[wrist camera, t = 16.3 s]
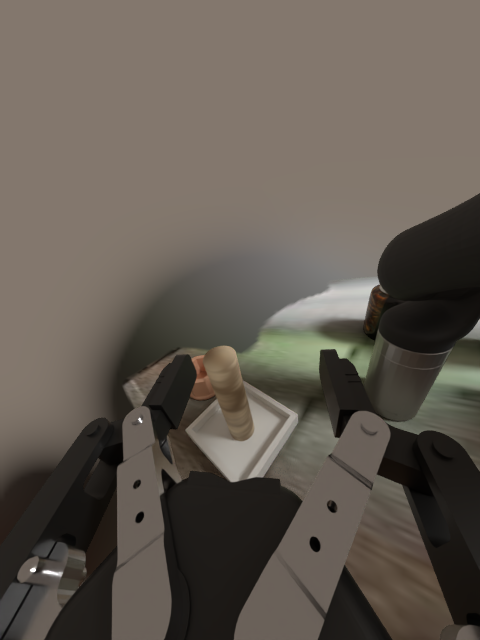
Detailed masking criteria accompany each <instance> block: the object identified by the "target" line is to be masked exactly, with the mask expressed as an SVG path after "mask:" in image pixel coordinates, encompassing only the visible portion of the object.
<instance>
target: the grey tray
mask: <svg viewBox="0 0 480 640" xmlns="http://www.w3.org/2000/svg"><path fill="white" fill-rule="evenodd" d="M243 383H244V387H245V391H246V395H247V399H248V403H249V407H250V411H251V415H252V419H253V423H254V432H253V435H252V436H251V437H250V438H249V439H248V440H245V441H237V440H235V439H234V438H233V437H232V436H231V433H230V431H229V428H228V426H227V423H226V421H225V418H224V416H223V413H222V410H221V408H220V405H219V403H218V400H217V399H216V400H215V401H214V402H213V403H212V404H211V405H210V406H209V407H208V408H207V409H206V410H205V411H204V412H203V413H202V414H201V415H200V416H199V417H198V418H197V419H196V420H195V421H194V422H193V423H192V424H191V425H190V426H189V427H188V428H187V429H186V430H185V431H186V432H187V434H188V436H189V437H190V438H191V440H192V441H193V442H194V443H195V444H196V445H197V446H198V448H199V449H200V450H201V451H202V452H203V453H204V454H205V456H206V457H207V458H208V459H209V460H210V461H211V462H212V463H213V465H214V466H215V467H216V468H217V469H218V470H219V471H220V473H221V474H222V475H223V476H224V477H225V478H226V479H227V480H228V481H230V482H236V481H241V480H245V479H249V478H254V477H262V478H263V476H264V475H265V473H266V472H267V470H268V469H269V467H270V465H271V464H272V462H273V461H274V459H275V458H276V456H277V455H278V453H279V451H280V450H281V448H282V447H283V445H284V444H285V442H286V440H287V439H288V437H289V436H290V434H291V433H292V431H293V430H294V428H295V426H296V425H297V423H298V414H296V413H295V412H293V411H292V410H290V409H288V408H287V407H285V406H284V405H282V404H280V403H279V402H277V401H276V400H274V399H272V398H271V397H269V396H268V395H266V394H264V393H263V392H261V391H260V390H258V389H256V388H255V387H253V386H252V385H250V384H248V383H247V382H245V381H244V380H243Z"/></svg>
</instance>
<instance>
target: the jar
mask: <svg viewBox="0 0 480 640" xmlns="http://www.w3.org/2000/svg"><path fill="white" fill-rule="evenodd" d="M405 302H407V301H402V300H399V299H395V298H393V297H392V296H390V295H389V294H387V293H386V292H385V291H384V289H383V288H382V287H381V285H377V286H375V287H374V288H373V289H372V291H371V294H370V298H369V302H368V307H367V312H366V316H365V322H364V327H363V330H364V332H365V334H366V335H367V336H368V337H370V338H371V339H373V340H376V336H377V332H378V328H379V324H380V320H381V317H382V315H383V314H384V313H385V312H386V311H387V310H388V309H390V308H392V307H394V306H397V305H399V304H402V303H405Z"/></svg>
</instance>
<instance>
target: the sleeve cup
mask: <svg viewBox="0 0 480 640" xmlns="http://www.w3.org/2000/svg"><path fill="white" fill-rule="evenodd" d="M204 356H205V355H202V356H196V357H194V358H193V359H192V362H193V364H194V366H195V369H196V372H197V378H196V381H195V384H194V387H193V389H192V392H191V395H190V397H191V398H193V399H195V400H199V401H202V400H208V399H210V398H212V397H214V396H216V395H215V393H214V390H213V388H212V385H211V382H210V380H209V377H208V375H207V372H206V370H205V367H204V365H203V358H204Z"/></svg>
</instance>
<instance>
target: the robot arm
mask: <svg viewBox="0 0 480 640" xmlns="http://www.w3.org/2000/svg"><path fill="white" fill-rule="evenodd" d="M377 273H378V279H379V283H380V285H381V287H382V288H383V289H384V291H385V292H386V293H387V294H389V295H390V296H392V297H393V298H395V299H399V300H402V301H407V302H405V303H402V304H399V305H397V306H394V307H392V308H390V309H388V310H387V311H386V312H385V313H384V314H383V315H382V317H381V320H380V324H379V328H378V332H377V336H376V340H375V344H374V348H373V352H372V356H371V359H370V363H369V367H368V371H367V375H366V378H365V382H364V386H363V384H362V383H361V379H360V377H359V376H358V373H357V371H356V368H355V366H354V365H353V364H352V363H351V362H350V361H349V360H348V359H347V358H346V359H339V357H338V354H337V352H336V350H335V349H328V350H321V351H320V365H319V373H320V379H321V383H322V387H323V391H324V396H325V400H326V404H327V408H328V412H329V416H330V420H331V424H332V428H333V432H334V436H335V437H337V438H340V439H339V440H338V442H337V444H336V446H335V448H334V450H333V452H332V453H331V454H330V455H329V456H328V457H327V458H326V460H325V462H324V463H323V465H322V467H321V469H320V471H319V473H318V474H317V476H316V478H315V480H314V482H313V484H312V485H311V487H310V489H309V491H308V493H307V495H306V497H305V498H304V500H303V501H302V500H301V499H300V498H299V497H298V496H297V495H296V494H294V493H293V492H292V491H290V490H289V489H287V488H285V487H283V486H281V484H280V479H273V478H262V477H254V478H249V479H245V480H241V481H236V482H230V481H228V480H225V479H223V478H221V477H219V476H217V475H215V474H212V473H208V472H197V471H190V474H189V478H187V479H184V480H182V479H181V476H180V474H179V472H178V470H177V467H176V464H175V460H174V455H173V451H172V447H171V443H170V439H169V436H168V432H169V430H170V429H178V426H179V423H180V421H181V418H182V415H183V413H184V410H185V408H186V405H187V402H188V400H189V397H190V395H191V392H192V389H193V387H194V384H195V381H196V378H197V372H196V369H195V366H194V364H193V362H192V359H191V357H190V355H188V354H187V355H176V356H175V358H174V360H173V362H172V363H169V364H168V365H167V366H166V367H165V368H164V369H163V370H162V372H161V373H160V375H159V378H158V379H157V380H156V383H155V384H154V386H153V387H152V389H151V391H150V392H149V394H148V396H147V398H146V399H145V401H144V403H143V404H142V406H141V407H138V408H135V409H134V410H132V411H131V412H130V413H129V414H128V415H127V416H126V418H124V419H121V420H118V421H114V422H111V423H110V422H109V421H108V420H107V419H106V418H98V419H96V420H94V421H92V422H91V423H89V424H88V425H87V426H86V427H85V428H84V429H83V430H82V432H81V433H80V435H79V436H78V437H77V439H76V440H75V442H74V443H73V444H72V446H71V447H70V449H69V450H68V451H67V453H66V454H65V456H64V457H63V459H62V460H61V461H60V463H59V464H58V466H57V467H56V469H55V470H54V471H53V473H52V474H51V475H50V477H49V478H48V480H47V481H46V482H45V484H44V485H43V487H42V488H41V489H40V491H39V492H38V494H37V495H36V497H35V498H34V499H33V501H32V502H31V504H30V505H29V506H28V508H27V509H26V511H25V512H24V513H23V515H22V516H21V518H20V519H19V521H18V522H17V523H16V525H15V526H14V528H13V529H12V530H11V532H10V533H9V534H8V536H7V537H6V539H5V540H4V541H3V543H2V544H1V546H0V640H392V638H391V637H390V635H389V634H388V632H387V630H386V629H385V627H384V626H383V624H382V623H381V621H380V619H379V618H378V616H377V615H376V613H375V612H374V610H373V608H372V607H371V605H370V604H369V602H368V601H367V599H366V598H365V596H364V594H363V593H362V591H361V590H360V588H359V587H358V585H357V583H356V582H355V580H354V579H353V577H352V576H351V574H350V572H349V571H348V569H347V568H346V566H345V565H344V564H345V561H346V559H347V556H348V553H349V551H350V548H351V545H352V542H353V540H354V537H355V534H356V531H357V529H358V526H359V523H360V521H361V518H362V515H363V512H364V510H365V507H366V504H367V501H368V499H369V496H370V493H371V490H372V487H373V483H374V480H375V477H376V474H377V475H380V476H382V477H385V478H387V479H390V480H392V481H394V482H397V483H399V484H402V486H403V489H404V491H405V494H406V497H407V499H408V502H409V505H410V507H411V510H412V513H413V515H414V518H415V521H416V523H417V526H418V529H419V531H420V534H421V537H422V539H423V542H424V544H425V547H426V550H427V552H428V555H429V558H430V560H431V563H432V566H433V568H434V571H435V574H436V576H437V579H438V582H439V584H440V587H441V590H442V592H443V595H444V598H445V600H446V603H447V606H448V608H449V611H450V613H451V616H452V619H453V621H454V624H453V625H448V626H446V627H445V628H444V629H443V630H442V632H441V634H440V640H480V472H479V470H478V469H477V467H476V466H475V464H474V462H473V461H472V459H471V458H470V456H469V455H468V453H467V452H466V451H465V449H464V448H463V447H462V446H461V445H460V444H459V443H458V442H456V441H455V440H454V439H452V438H450V437H449V436H447V435H445V434H442V433H440V432H436V431H423V432H421V433H420V434H419V435H417V434H413V433H410V432H407V431H404V430H401V429H398V428H395V427H393V426H391V425H389V424H387V423H386V422H385V421H384V420H383V419H382V418H380V417H379V416H378V415H377V414H379V415H380V416H382V417H385V418H387V419H390V420H394V421H407V420H410V419H412V418H413V417H415V415H416V414H417V412H418V410H419V408H420V407H421V405H422V403H423V401H424V400H425V398H426V396H427V394H428V392H429V390H430V389H431V387H432V385H433V383H434V381H435V380H436V378H437V376H438V374H439V372H440V370H441V369H442V367H443V365H444V363H445V361H446V359H447V357H448V356H449V354H450V352H451V350H452V348H453V346H454V345H455V343H456V341H457V340H459V339H461V338H462V337H464V336H466V335H467V334H468V333H469V332H470V331H471V330H472V329H473V328H474V326H475V325H476V323H477V322H478V320H479V319H480V193H479V194H478V195H476V196H474V197H473V198H471V199H469V200H467V201H465V202H464V203H462V204H460V205H458V206H456V207H455V208H452V209H450V210H448V211H446V212H444V213H442V214H440V215H438V216H436V217H434V218H431V219H429V220H427V221H425V222H423V223H421V224H419V225H416V226H414V227H412V228H410V229H407V230H405V231H404V232H402V233H400V234H399V235H397V236H396V237H395V238H394V239H393V240H392V241H391V242H390V243H389V244H388V246H387V247H386V249H385V250H384V252H383V254H382V256H381V258H380V261H379V264H378V270H377ZM376 413H377V414H376ZM97 458H99V459H100V462H99V464H98V466H97V467H96V469H95V471H94V473H93V474H92V476H91V478H90V480H89V481H88V483H87V485H86V487H85V488H84V490H83V485H84V481H85V479H86V477H87V476H88V474H89V472H90V471H91V469H92V467H93V466H94V464H95V462H96V460H97ZM116 487H117V527H118V528H117V532H118V533H117V536H118V537H117V538H118V539H117V542H118V545H117V546H116V548H115V549H114V550H113V551H112V552H111V553H110V554H109V555H108V556H107V557H106V559H105V560H104V561H103V562H102V563H101V564H100V565H99V566H98V567H97V568H96V570H95V571H94V572H93V573H92V574H91V575H90V576H89V577H88V578H87V580H86V581H85V582H84V583H83V581H84V579H85V576H86V568H85V561H86V557H85V554H86V551H87V549H88V547H89V544H90V543H91V541H92V539H93V536H94V534H95V532H96V530H97V528H98V526H99V523H100V521H101V519H102V517H103V515H104V512H105V511H106V509H107V506H108V504H109V502H110V500H111V498H112V496H113V493H114V491H115V489H116ZM82 583H83V584H82ZM81 584H82V585H81ZM80 585H81V586H80Z"/></svg>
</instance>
